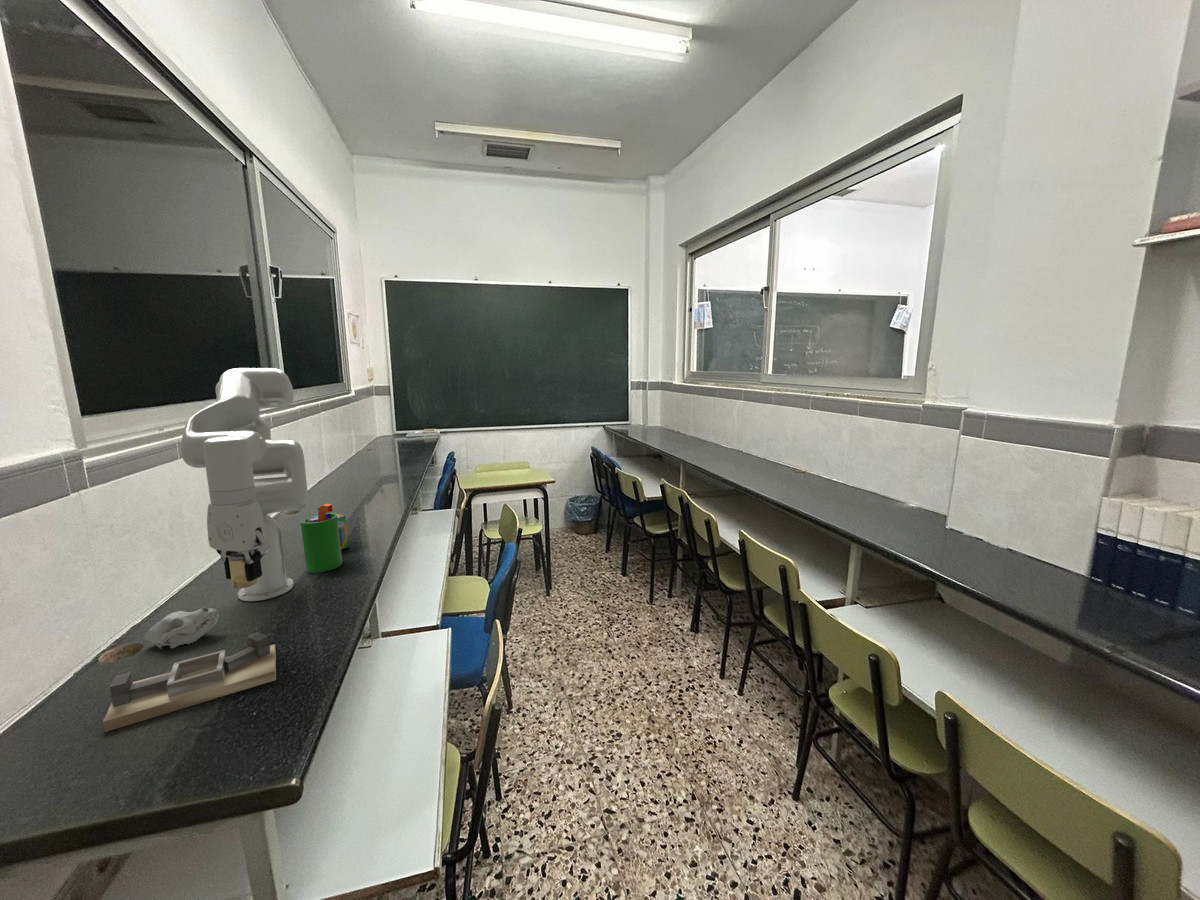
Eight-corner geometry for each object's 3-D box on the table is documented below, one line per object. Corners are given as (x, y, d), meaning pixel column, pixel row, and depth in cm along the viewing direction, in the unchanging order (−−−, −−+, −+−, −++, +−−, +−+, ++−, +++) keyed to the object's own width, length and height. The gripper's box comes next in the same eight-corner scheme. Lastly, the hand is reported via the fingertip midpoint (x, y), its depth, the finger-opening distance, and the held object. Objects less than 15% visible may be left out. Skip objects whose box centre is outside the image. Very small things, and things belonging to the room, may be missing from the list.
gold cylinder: (233, 582, 101) (228, 551, 100) (258, 577, 103) (254, 547, 102) (231, 590, 97) (227, 559, 96) (257, 585, 100) (253, 554, 99)
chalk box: (349, 547, 160) (345, 506, 158) (322, 556, 153) (317, 513, 150) (335, 542, 165) (331, 502, 163) (307, 550, 158) (303, 508, 155)
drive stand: (121, 695, 88) (116, 666, 87) (275, 652, 101) (272, 627, 100) (104, 732, 79) (98, 700, 78) (275, 680, 93) (272, 652, 92)
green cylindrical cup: (319, 559, 150) (313, 499, 147) (348, 559, 151) (342, 499, 148) (302, 573, 140) (295, 509, 137) (333, 572, 141) (326, 508, 138)
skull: (151, 627, 106) (195, 587, 108) (188, 649, 109) (230, 609, 111) (132, 644, 99) (179, 600, 101) (171, 666, 102) (217, 623, 104)
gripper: (181, 498, 95) (194, 581, 98) (251, 503, 92) (262, 589, 95) (217, 488, 102) (228, 566, 105) (283, 493, 99) (292, 573, 102)
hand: (244, 576), depth 100 cm, fingers closed on gold cylinder, 4 cm apart
